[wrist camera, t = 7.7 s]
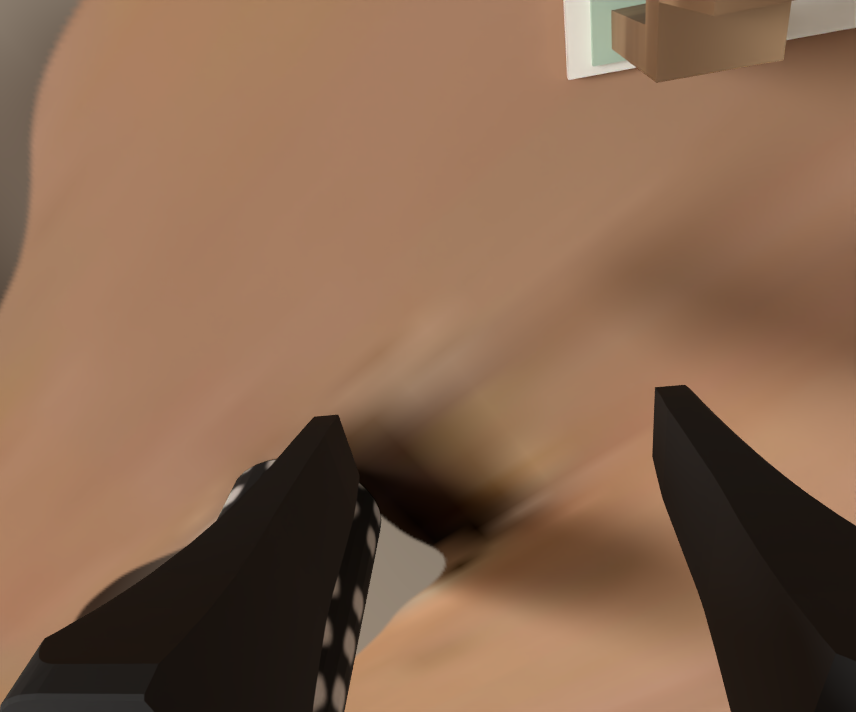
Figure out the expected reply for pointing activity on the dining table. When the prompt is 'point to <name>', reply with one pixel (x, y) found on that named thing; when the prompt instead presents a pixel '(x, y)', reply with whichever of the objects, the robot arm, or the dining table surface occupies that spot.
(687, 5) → the stepped wooden block
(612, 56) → the end pad
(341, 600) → the white-spotted black cylinder
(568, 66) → the buzz wire board
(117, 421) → the dining table surface
